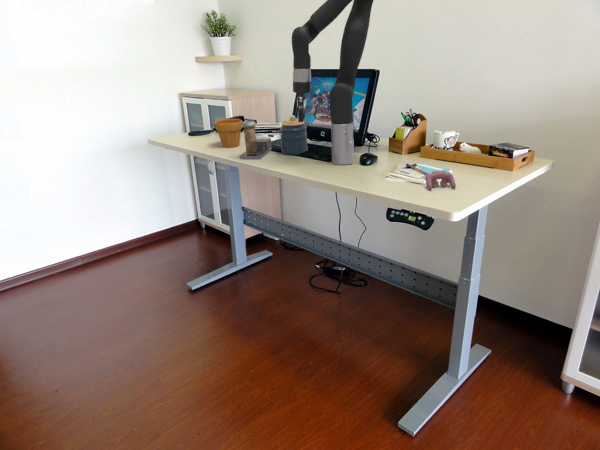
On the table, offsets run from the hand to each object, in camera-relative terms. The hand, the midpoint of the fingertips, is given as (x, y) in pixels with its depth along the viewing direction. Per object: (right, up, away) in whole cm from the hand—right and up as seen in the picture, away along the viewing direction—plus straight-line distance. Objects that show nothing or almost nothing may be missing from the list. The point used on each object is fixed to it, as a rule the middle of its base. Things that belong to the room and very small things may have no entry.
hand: (301, 120), depth 177 cm
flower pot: (-37, -3, +43) cm, 57 cm away
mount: (-22, -11, +24) cm, 34 cm away
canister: (-3, -10, +24) cm, 26 cm away
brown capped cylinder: (-24, -11, +18) cm, 32 cm away
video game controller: (+49, -32, -31) cm, 66 cm away
